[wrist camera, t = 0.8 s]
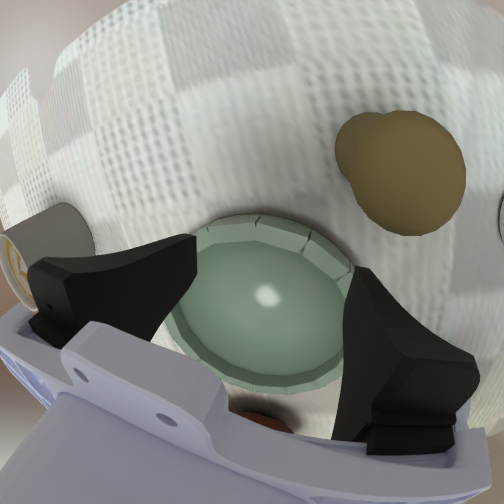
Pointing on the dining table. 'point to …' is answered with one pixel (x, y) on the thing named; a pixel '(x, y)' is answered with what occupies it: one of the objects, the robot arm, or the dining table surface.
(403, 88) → the dining table surface
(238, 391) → the dining table surface
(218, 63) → the dining table surface
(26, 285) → the coffee mug
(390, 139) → the olive brown knobbed peg
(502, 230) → the pill bottle
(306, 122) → the dining table surface
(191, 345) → the round tray
